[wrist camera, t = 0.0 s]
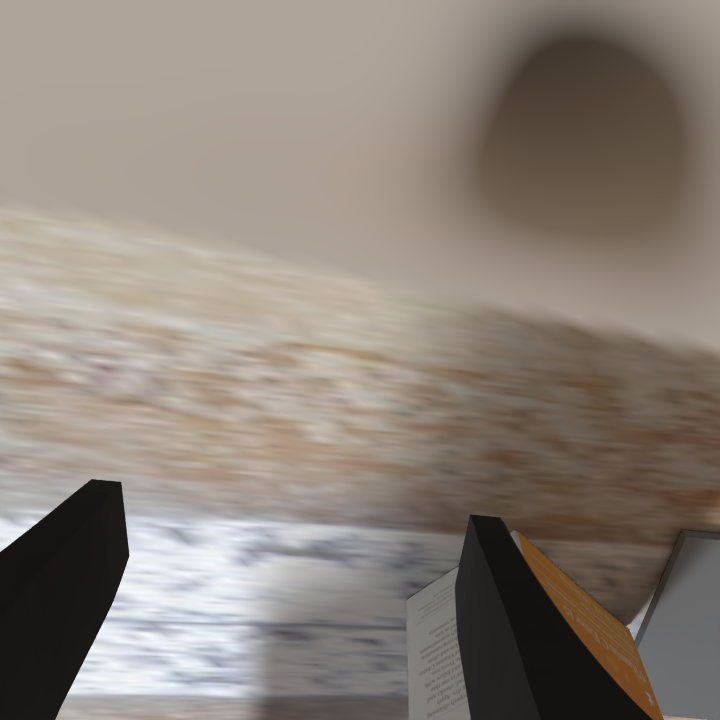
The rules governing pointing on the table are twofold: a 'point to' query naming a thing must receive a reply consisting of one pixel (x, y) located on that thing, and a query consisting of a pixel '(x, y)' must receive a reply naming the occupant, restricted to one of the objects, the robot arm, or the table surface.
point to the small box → (442, 655)
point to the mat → (685, 630)
